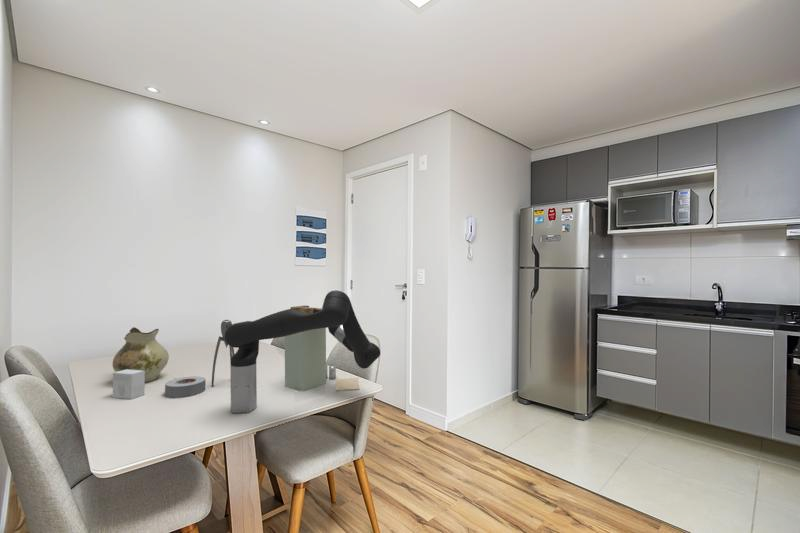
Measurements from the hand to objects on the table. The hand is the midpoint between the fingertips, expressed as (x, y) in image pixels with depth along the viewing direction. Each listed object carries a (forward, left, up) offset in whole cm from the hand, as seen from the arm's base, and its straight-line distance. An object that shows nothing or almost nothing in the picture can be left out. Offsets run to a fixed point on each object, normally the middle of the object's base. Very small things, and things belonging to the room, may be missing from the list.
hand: (318, 309), depth 169 cm
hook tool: (+4, +1, -3) cm, 5 cm away
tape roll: (+5, +57, -36) cm, 68 cm away
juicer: (+12, +41, -35) cm, 56 cm away
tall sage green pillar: (+6, +6, -35) cm, 36 cm away
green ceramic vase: (+28, +86, -35) cm, 97 cm away
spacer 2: (+13, -6, -35) cm, 38 cm away
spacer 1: (+15, -2, -35) cm, 38 cm away
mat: (+2, -13, -35) cm, 37 cm away
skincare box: (+4, +79, -35) cm, 87 cm away
